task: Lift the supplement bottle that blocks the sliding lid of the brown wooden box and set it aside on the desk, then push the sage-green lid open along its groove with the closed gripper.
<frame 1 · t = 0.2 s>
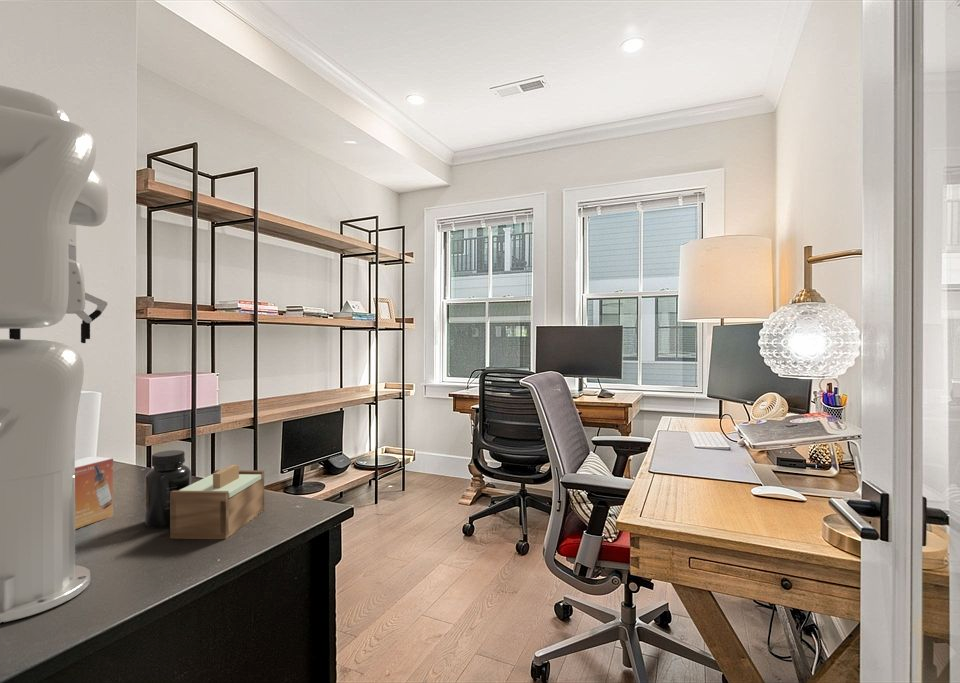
hand: (51, 343, 95), 31 cm above the table, tool pointing down, fingers open, 9 cm apart
lid: (220, 478, 84), point 8 cm above the table, slide at 0.0 cm
small box: (79, 524, 84), on the table
brown wooden box: (220, 523, 84), on the table
supplement bottle: (168, 522, 85), on the table
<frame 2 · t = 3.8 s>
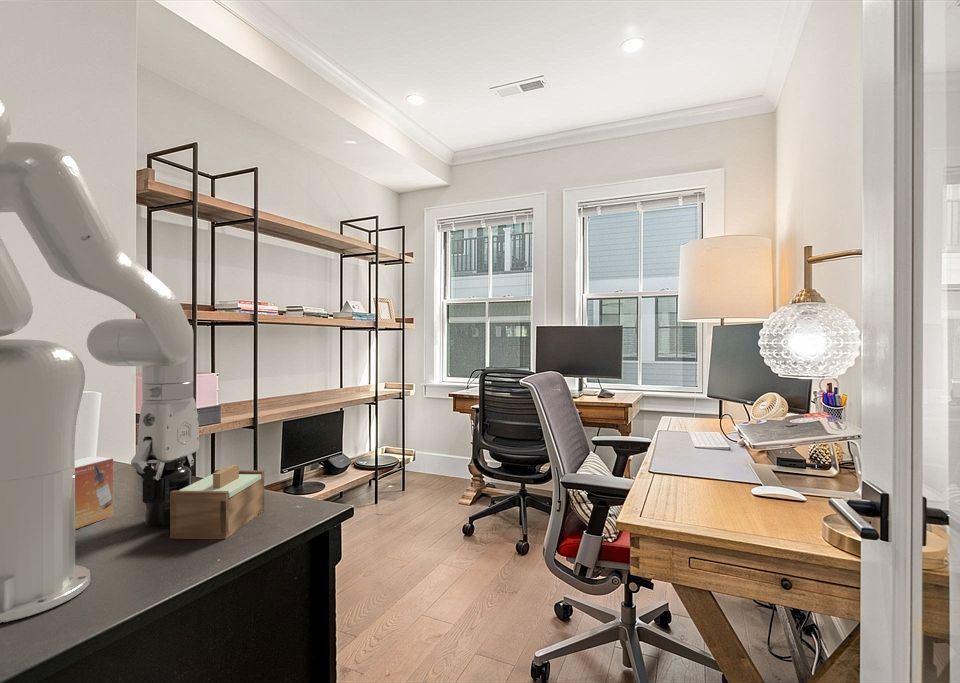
hand: (168, 494, 85), 5 cm above the table, tool pointing down, fingers closed on supplement bottle, 6 cm apart
supplement bottle: (168, 522, 85), on the table, touching gripper
everything else where it was.
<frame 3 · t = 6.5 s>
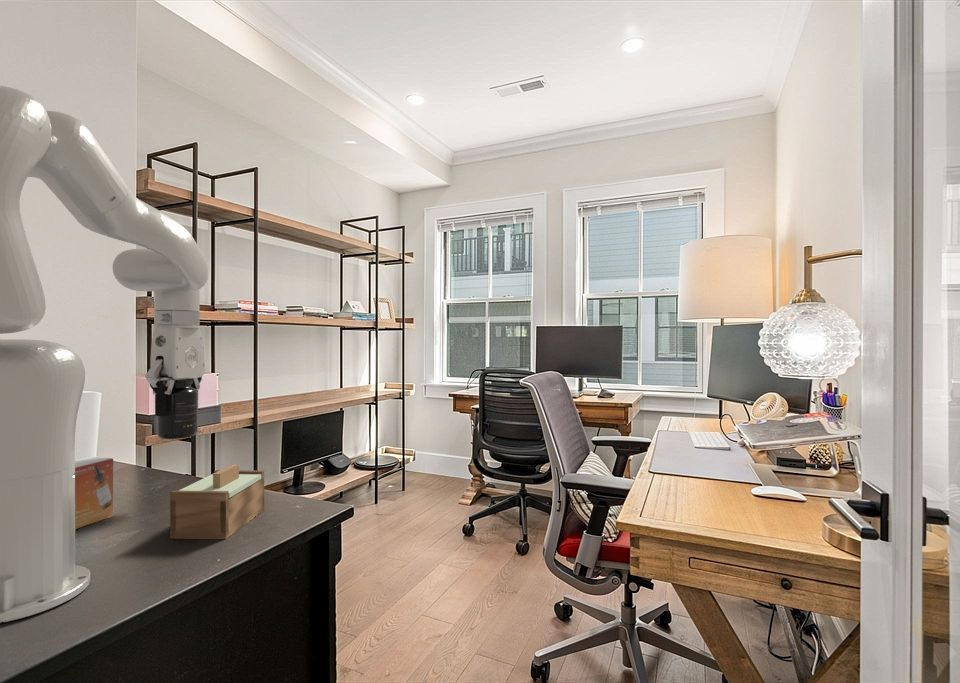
hand: (177, 411, 95), 18 cm above the table, tool pointing down, fingers closed on supplement bottle, 6 cm apart
supplement bottle: (177, 437, 95), point 13 cm above the table, touching gripper
everything else where it was.
when the fingers open (6 cm above the table, at t = 9.0 s): supplement bottle drops 1 cm, on the table.
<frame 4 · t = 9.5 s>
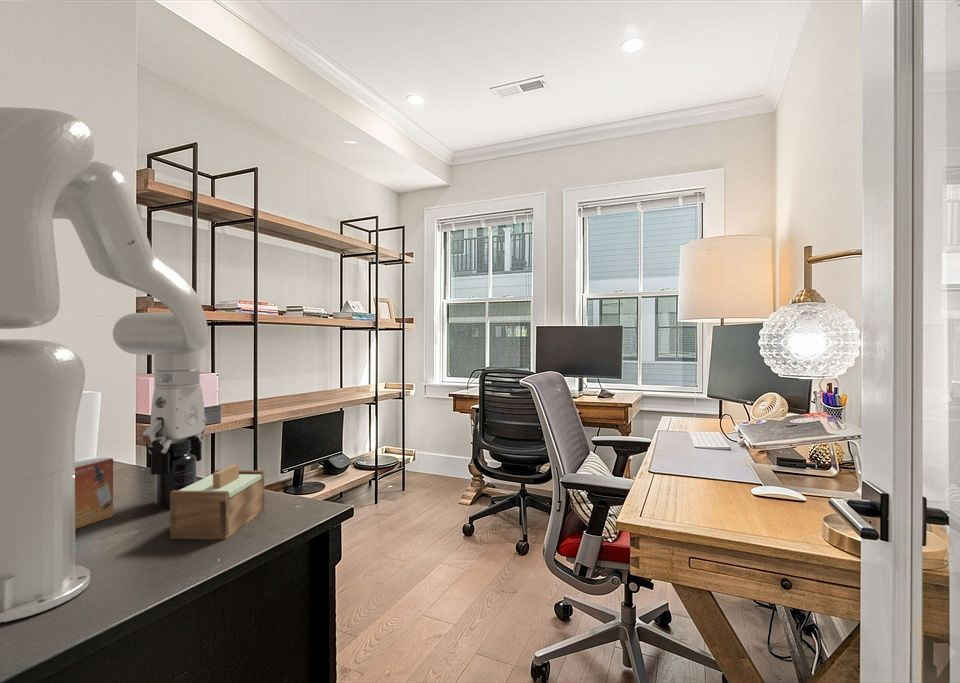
hand: (177, 467, 95), 7 cm above the table, tool pointing down, fingers open, 9 cm apart
supplement bottle: (176, 503, 94), on the table
everything else where it was.
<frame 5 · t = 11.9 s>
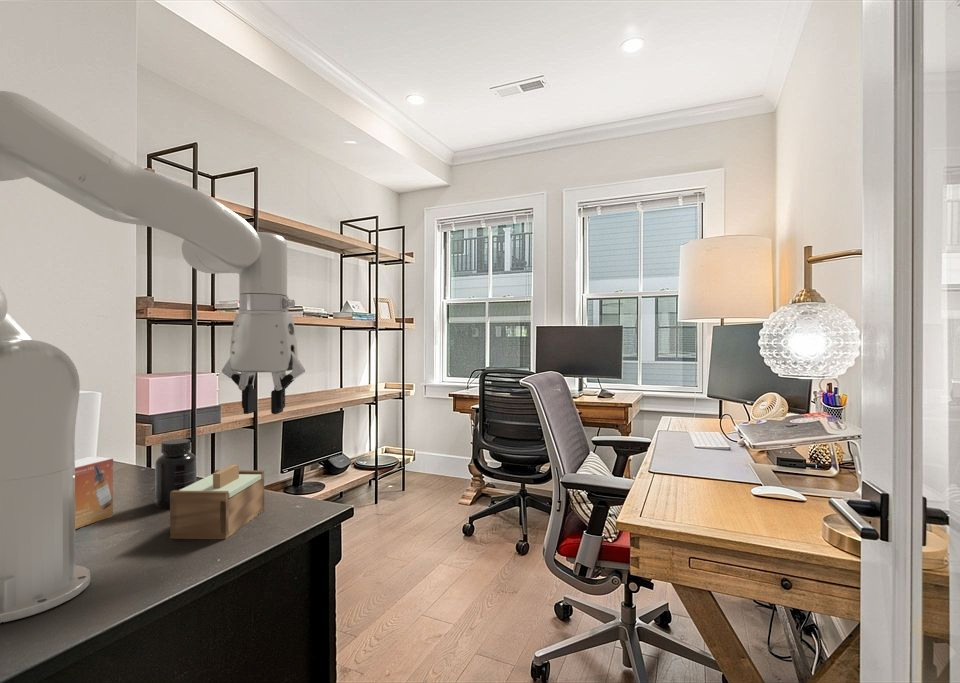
hand: (263, 411, 84), 19 cm above the table, tool pointing down, fingers open, 4 cm apart
nothing on the table moved.
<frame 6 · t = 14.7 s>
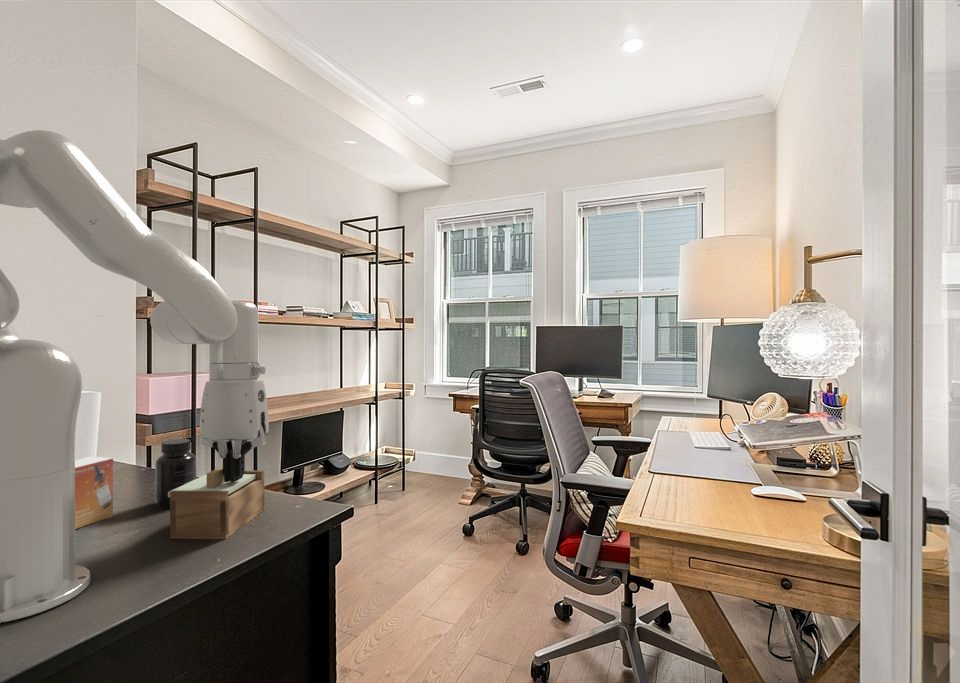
hand: (233, 479, 84), 8 cm above the table, tool pointing down, fingers closed
lid: (214, 478, 84), point 8 cm above the table, slide at 1.1 cm, touching gripper
everything else where it was.
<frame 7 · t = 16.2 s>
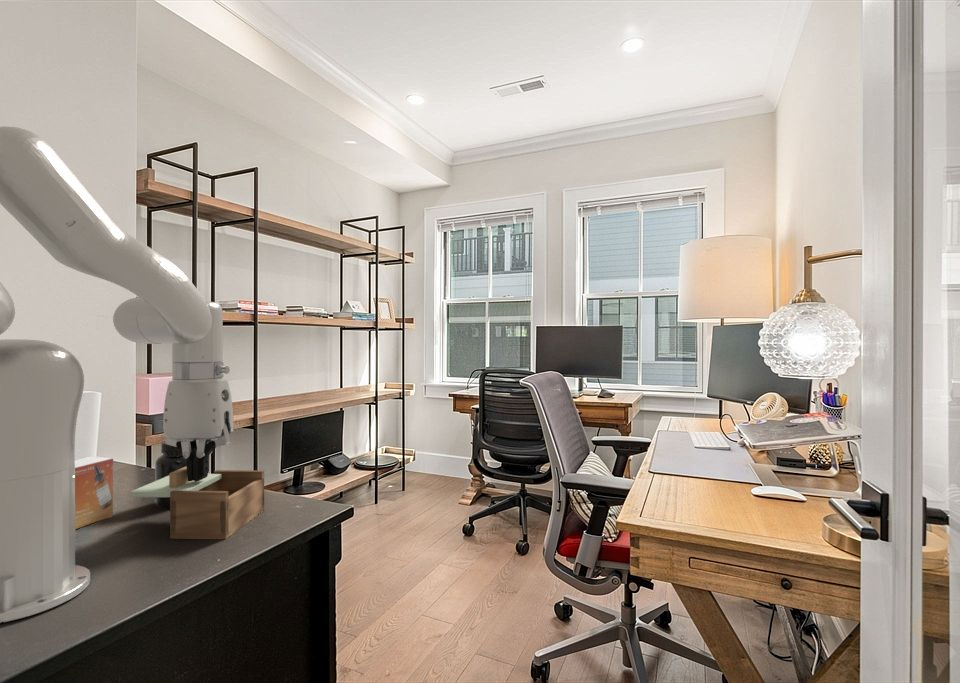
hand: (197, 478, 84), 8 cm above the table, tool pointing down, fingers closed
lid: (178, 477, 84), point 8 cm above the table, slide at 7.4 cm, touching gripper
everything else where it was.
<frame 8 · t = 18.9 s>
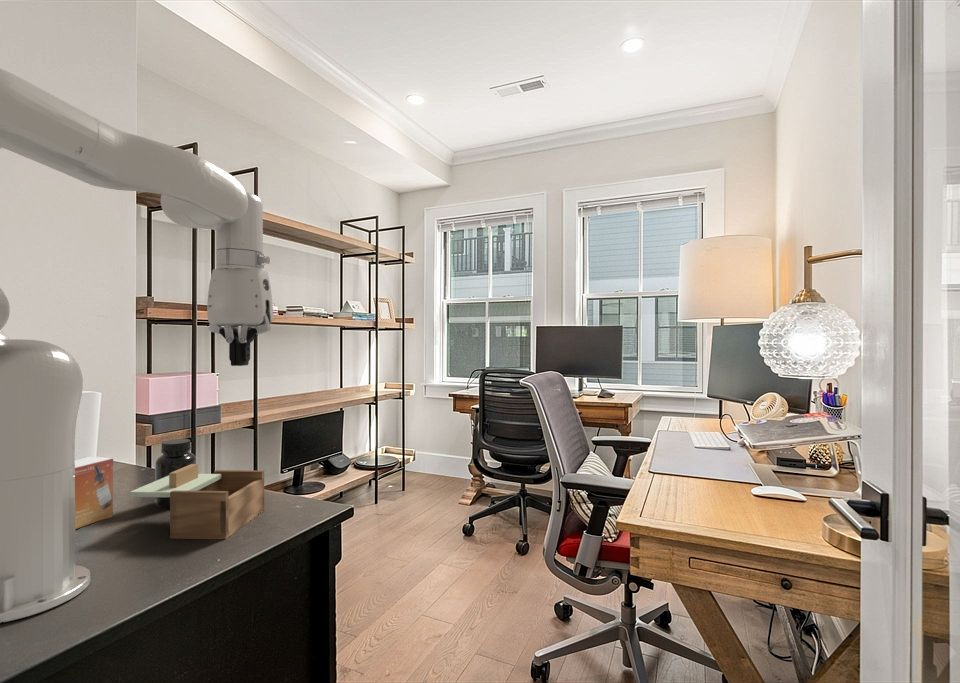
hand: (239, 365, 87), 27 cm above the table, tool pointing down, fingers closed
lid: (178, 477, 84), point 8 cm above the table, slide at 7.4 cm
everything else where it was.
at the end: lid slide at 7.4 cm; supplement bottle inside the target area (0.5 cm from its centre), on the table; supplement bottle tilted 0° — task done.
